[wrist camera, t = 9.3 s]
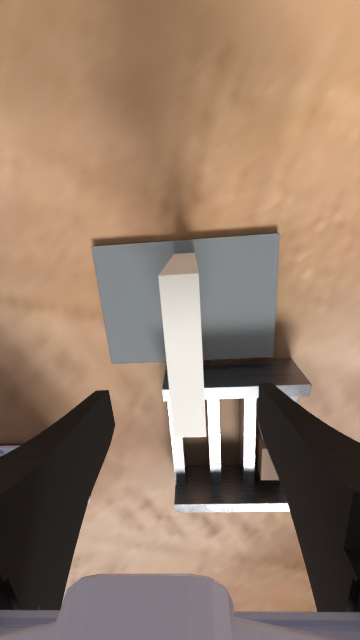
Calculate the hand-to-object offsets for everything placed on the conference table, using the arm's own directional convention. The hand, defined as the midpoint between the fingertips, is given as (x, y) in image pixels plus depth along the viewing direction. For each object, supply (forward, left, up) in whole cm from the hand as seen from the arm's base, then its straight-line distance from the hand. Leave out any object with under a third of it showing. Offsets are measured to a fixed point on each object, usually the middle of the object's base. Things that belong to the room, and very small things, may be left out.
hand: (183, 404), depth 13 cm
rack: (+3, -10, -10) cm, 15 cm away
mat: (0, +2, -10) cm, 11 cm away
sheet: (0, +2, -10) cm, 10 cm away
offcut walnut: (+7, -12, -10) cm, 17 cm away
